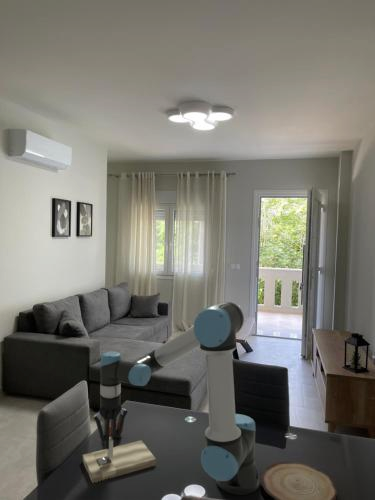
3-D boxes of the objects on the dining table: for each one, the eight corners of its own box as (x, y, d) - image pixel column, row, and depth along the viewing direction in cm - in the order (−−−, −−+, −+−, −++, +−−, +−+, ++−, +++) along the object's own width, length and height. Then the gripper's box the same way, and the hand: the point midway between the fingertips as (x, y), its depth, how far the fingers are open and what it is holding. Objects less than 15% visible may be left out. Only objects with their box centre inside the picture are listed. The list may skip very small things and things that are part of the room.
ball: (109, 460, 147) (101, 459, 145) (106, 470, 146) (98, 469, 144) (107, 456, 150) (98, 455, 148) (104, 465, 149) (95, 465, 148)
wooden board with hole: (155, 465, 149) (155, 458, 149) (92, 483, 138) (92, 476, 138) (141, 446, 162) (141, 440, 162) (82, 461, 151) (82, 454, 151)
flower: (131, 429, 172) (122, 413, 174) (126, 435, 163) (116, 418, 165) (113, 441, 172) (104, 425, 174) (107, 448, 163) (97, 431, 165)
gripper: (123, 387, 154) (123, 447, 155) (90, 393, 148) (90, 455, 148) (130, 394, 147) (129, 456, 148) (95, 401, 141) (95, 465, 142)
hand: (110, 455), depth 148 cm, fingers closed
